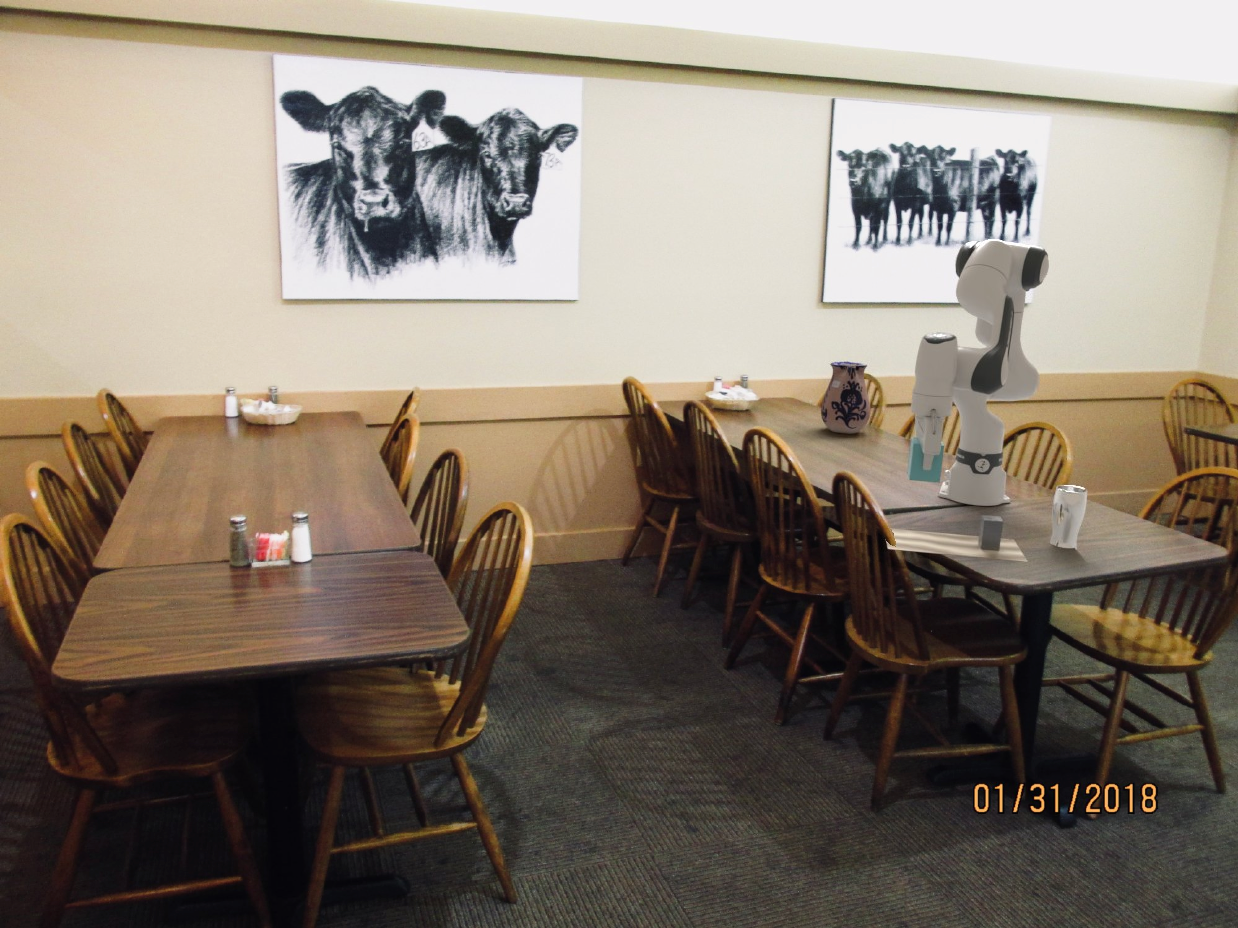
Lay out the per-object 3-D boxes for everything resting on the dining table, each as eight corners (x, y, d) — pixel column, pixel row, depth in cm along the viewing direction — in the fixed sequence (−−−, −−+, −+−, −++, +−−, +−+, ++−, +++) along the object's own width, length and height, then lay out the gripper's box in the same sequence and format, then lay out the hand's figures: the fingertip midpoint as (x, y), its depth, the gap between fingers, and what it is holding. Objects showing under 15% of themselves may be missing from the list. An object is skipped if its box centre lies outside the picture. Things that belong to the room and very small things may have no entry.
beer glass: (1063, 556, 220) (1073, 493, 216) (1039, 546, 226) (1048, 486, 222) (1085, 553, 222) (1095, 491, 219) (1061, 543, 228) (1070, 483, 225)
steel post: (978, 543, 222) (981, 515, 220) (996, 545, 221) (999, 516, 219) (980, 549, 218) (984, 520, 216) (999, 550, 217) (1003, 521, 215)
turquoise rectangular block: (907, 472, 223) (911, 437, 220) (936, 475, 221) (940, 439, 219) (909, 480, 216) (913, 443, 214) (939, 482, 215) (944, 445, 213)
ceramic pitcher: (827, 436, 340) (833, 366, 334) (811, 424, 360) (816, 358, 354) (875, 437, 342) (882, 367, 335) (856, 425, 362) (862, 359, 356)
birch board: (882, 533, 232) (883, 527, 231) (1013, 545, 226) (1013, 539, 226) (887, 554, 216) (887, 548, 216) (1026, 568, 211) (1027, 561, 210)
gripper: (952, 415, 204) (944, 477, 208) (940, 398, 224) (934, 455, 227) (921, 413, 205) (914, 475, 209) (913, 397, 225) (906, 453, 228)
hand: (924, 465), depth 218 cm, fingers closed on turquoise rectangular block, 7 cm apart
